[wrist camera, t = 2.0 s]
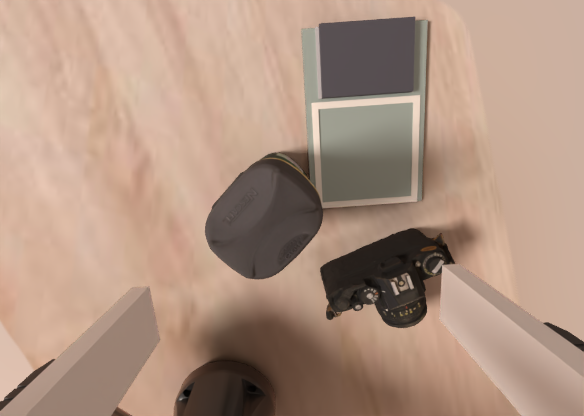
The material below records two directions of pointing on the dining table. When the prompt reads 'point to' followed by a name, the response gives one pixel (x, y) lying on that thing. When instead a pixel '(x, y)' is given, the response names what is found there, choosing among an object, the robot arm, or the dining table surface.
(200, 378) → the robot arm
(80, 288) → the dining table surface
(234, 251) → the coffee jar
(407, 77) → the pad
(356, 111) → the board
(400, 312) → the film camera
